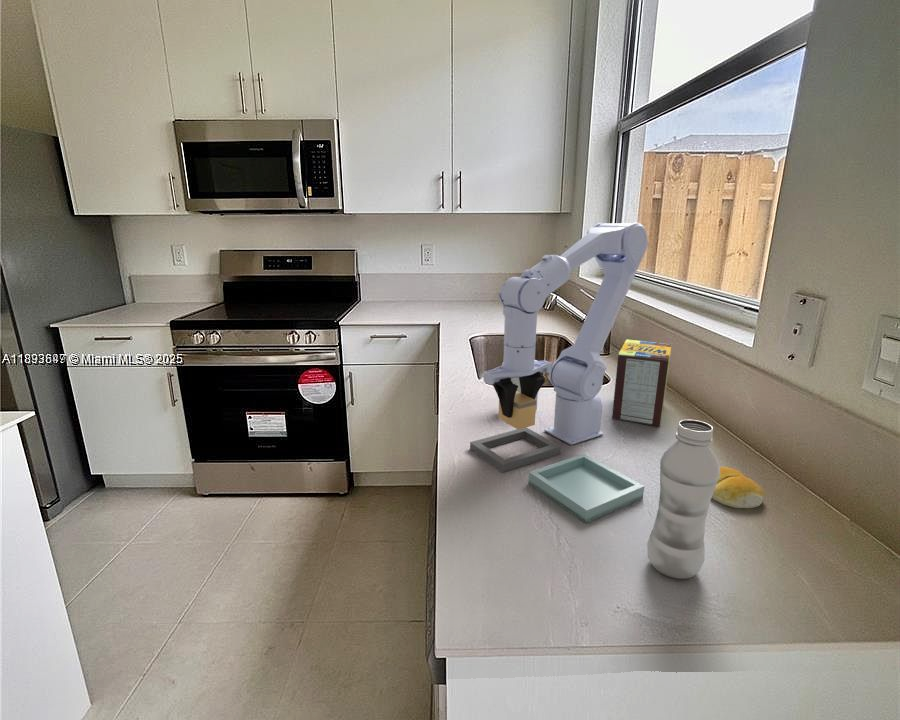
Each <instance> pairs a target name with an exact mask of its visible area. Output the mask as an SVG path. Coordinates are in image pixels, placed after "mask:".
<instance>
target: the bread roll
mask: <svg viewBox="0 0 900 720" xmlns="http://www.w3.org/2000/svg"><path fill="white" fill-rule="evenodd" d="M720 472H721V473H720V476H719V480H718V482H717V485H716V487H715V490H714V493H713V495H712V498H711V499H713V500H714V501H715V502H718V503H720V504H721V505H724V506H727V507H730V508H734V509H754V508H757V507H759V506H760V505H762V503H763V499H764V498H765V494H764V490H763V488H762V487H761V486H760V485H759V484H758V483H757V482H756V481H755V480H753V479H751V478H749V477H746V476H745V474H743V473H742V472H741V471H739V469H735V468H731V467H727V466H720Z"/></svg>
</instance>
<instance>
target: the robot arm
mask: <svg viewBox="0 0 900 720" xmlns="http://www.w3.org/2000/svg"><path fill="white" fill-rule="evenodd" d="M648 247H649V242H648V236H647V230H646V227H645V226H644V225H643V224H642V223H640V222H632V223H611V222H610V223H607V222H598V223H597V224H595V225H594V226H592V227H590V228H588V229H587V232H586V234H585V235H584V236H583V237H581V238H580V239H579V240H578V241H577V242H576V243H574V244H573V245H572V246H570V247H569V248H568V249H567V250H566V251H564V252H563V253H561V254H560V255H558V254H545V255H543V256H542V257H541V261H539V262H538V263H537V264H535V265H534V266H532V267H531V268H526V269H524V270H523V271H522V274H521V275H520V276H511V277H509V278H508V279H506V281H504V282H503V284H502V285H501V287H500V291H499V292H498V294H497V296H498V299H499V303H500V305H501V306H502V309H503V310H502V312H503V313H502V314H503V315H504V331H503V334H504V337H503V360H502V361H503V362H501V365H500V366H497V367H495V368H493V369H489V370H486V371H483V383H485V384H487V385H489V386H490V385H491V386H493V389H494V390H495V393H496V394H497V397H498V402H499V401H500V405H501V409H502V414H503V415H504V416H506V417H508V418H510V417H512V414H513V404H514V398H515V394H516V391H517V388H518V386H517V385H515V384H513V383H512V381H511V379H513V378H518V377H519V381H520V388H521V393H522V394H524V395H526V396H528V397H530V398H533V399H535V398H536V395H537V393H538V394H539V391H540V390H541V388H542V386H543V385H544V384H545V383H546V377H545V376H543V375H541V373H546V374H548V379H549V382H550V384H551V386H553V391H554V392H555V403H554V420H553V426H550V427H546V428H544V432H545V433H548V434H550V435H552V436H554V437H555V438H557V439H559V440H561V441H563V442H565V443H566V444H568V445H575V444H578V443H581V442H585V441H588V440H590V439H594V438H596V437H600V436H603V435H604V433H603V431H601V422H602V411H603V402H602V399H601V397H600V395H599V393H600V391H601V389H602V387H603V382H604V375H605V373H606V371H607V366H606V364H605V362H604V360H603V359H602V357H601V353H602V351H603V348H604V345H605V343H606V342H607V339H608V337H609V334H610V333H611V330H612V327H613V326H614V323H615V321H616V319H617V317H618V314H619V313H620V310H621V308H622V305H623V304H624V301H625V298H626V296H627V294H628V292H629V289H630V288H631V285H632V283H633V281H634V279H635V277H636V276H635V275H636V272H637V271H638V269H639V266H640V265H641V262H642V260H643V257H644V256H645V253H646V251H647V249H648ZM594 258H595V261H596V262H597V264H598V266H599V268H601V269H602V271H603V273H604V277H603V279H602V281H601V283H600V286H599V287H598V290H597V292H596V294H595V296H594V299H593V301H592V304H591V306H590V307H589V311H588V313H587V315H586V317H585V319H584V322H583V324H582V326H581V328H580V331H579V333H578V335H577V337H576V340H575V342H574V344H572V345H570V346H568V347H567V348H565V349H563V350H562V351H560V354H559V356H558V358H557V359H556V360H554V362H553V363H552V362H551V361H548V360H545V359H544V360H537V361H535V360H536V343H537V342H536V341H537V326H538V325H537V324H538V323H537V322H538V311H540V310H541V309H542V308H543V306H544V304H545V302H546V299H547V298H548V297H549V296H550V294H552V293H553V292H554V291H556V290H557V289H558V288H560V287H562V286H563V285H564V284H565V283H566V282H568V281H569V280H570V277H571V272H572V271H574V270H575V269H576V268H578V267H580V266H581V265H584V263H586V262H589V261H590V260H591V259H594Z"/></svg>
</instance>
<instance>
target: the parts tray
mask: <svg viewBox="0 0 900 720" xmlns="http://www.w3.org/2000/svg"><path fill="white" fill-rule="evenodd" d="M528 484H529V485H530V486H531V487H532V488H534V489H536V490H537V491H538V492H540V493H541V494H543V495H544V496H546V497H547V498H549V499H550V500H551V501H553V502H554V503H556V504H557V505H558V506H560V507H561V508H563V509H565V510H566V511H568V512H569V513H570V514H572V515H573V516H575V517H576V518H577V519H579V520H580V521H582V522H583V523H585V524H588V523H590V522H592V521H594V520H597V519H599V518H601V517H604V516H606V515H608V514H610V513H613V512H615V511H617V510H620V509H621V508H624V507H626V506H628V505H630V504H633V503H636V502H637V501H640V500H641V499H643V498H644V493H645V485H643V484H642V483H640V482H638V481H635V480H634V479H632V478H630V477H628V476H627V475H625V474H623V473H622V472H619V471H617V470H616V469H613V468H611V467H609V466H608V465H606V464H604V463H603V462H600V461H599V460H597V459H596V458H593V457H591V456H589V455H587V454H585V453H581V454H578V455H575V456H572V457H569V458H567V459H564V460H561V461H557V462H555V463H552V464H549V465H545V466H543V467H539V468H537V469H534V470H531V471H528Z"/></svg>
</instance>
